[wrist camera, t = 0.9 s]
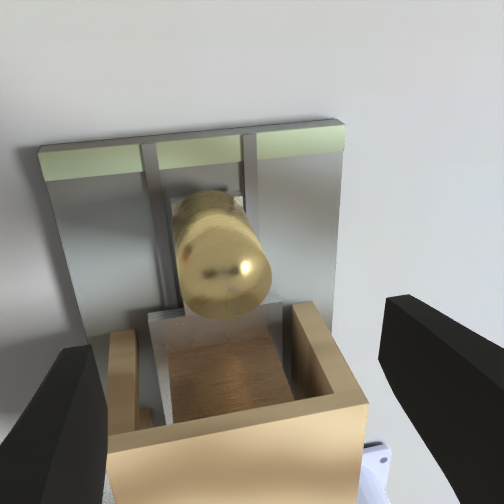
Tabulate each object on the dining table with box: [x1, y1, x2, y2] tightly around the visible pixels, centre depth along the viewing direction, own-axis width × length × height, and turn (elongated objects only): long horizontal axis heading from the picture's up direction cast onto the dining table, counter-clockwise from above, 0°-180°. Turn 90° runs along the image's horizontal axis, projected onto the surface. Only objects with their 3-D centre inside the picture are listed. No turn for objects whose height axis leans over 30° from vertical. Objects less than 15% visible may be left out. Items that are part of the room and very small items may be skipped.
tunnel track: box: [37, 119, 369, 504], centre depth 19 cm, size 18×11×7 cm, turn 2°
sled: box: [148, 189, 295, 425], centre depth 19 cm, size 13×6×5 cm, turn 2°
